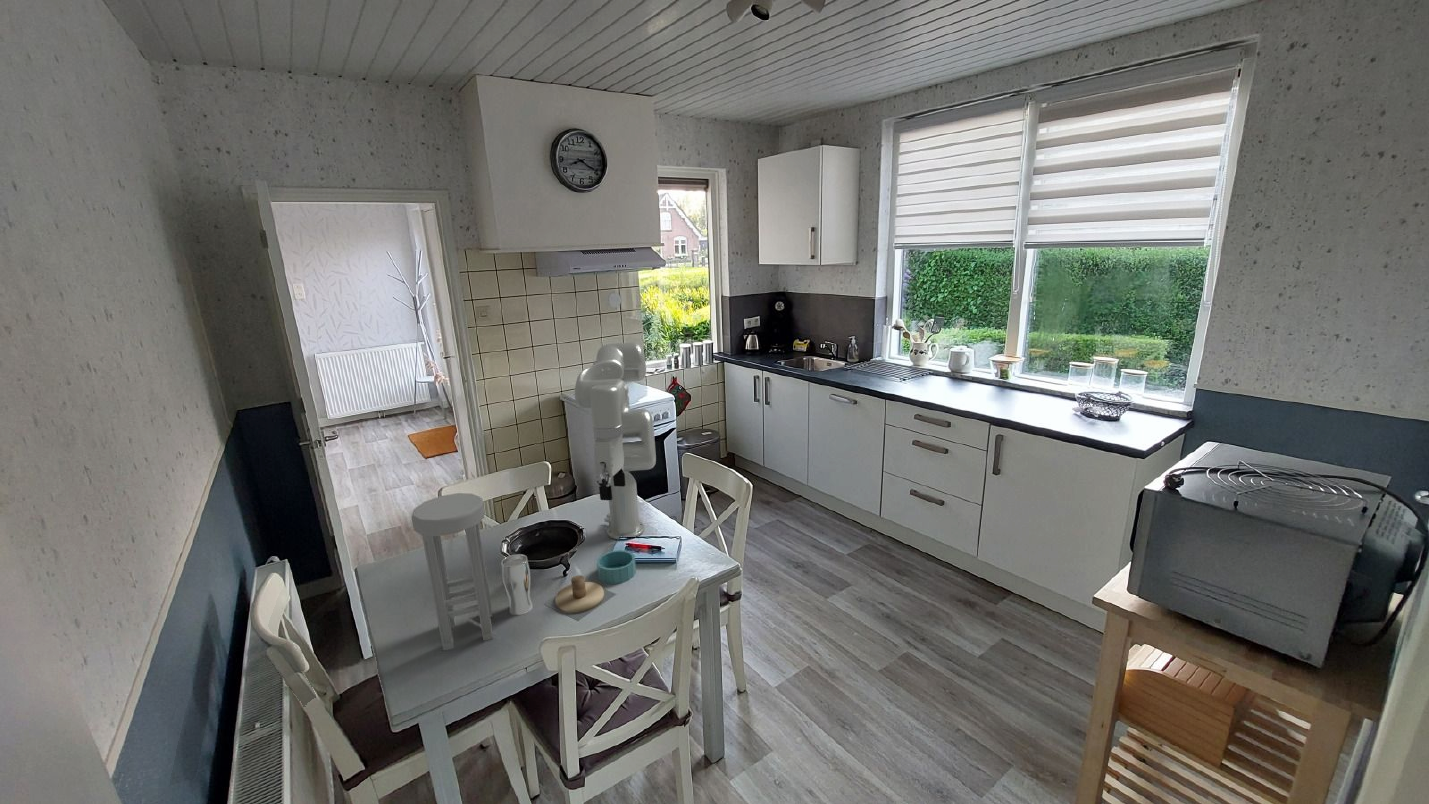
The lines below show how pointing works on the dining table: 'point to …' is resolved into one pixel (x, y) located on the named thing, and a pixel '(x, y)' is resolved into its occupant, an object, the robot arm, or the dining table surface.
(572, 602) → the lid
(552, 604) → the mat
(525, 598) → the beer glass
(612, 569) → the bowl
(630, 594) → the dining table surface
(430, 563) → the stool
